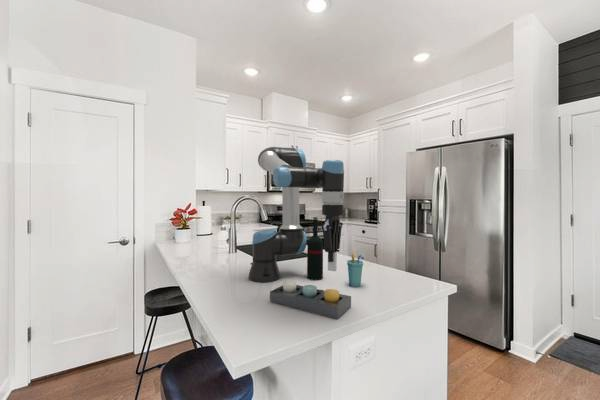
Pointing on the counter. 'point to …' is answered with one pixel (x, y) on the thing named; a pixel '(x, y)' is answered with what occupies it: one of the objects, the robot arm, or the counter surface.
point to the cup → (355, 271)
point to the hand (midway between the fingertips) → (332, 270)
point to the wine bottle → (315, 254)
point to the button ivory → (289, 286)
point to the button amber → (331, 295)
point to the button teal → (310, 291)
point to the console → (311, 302)
